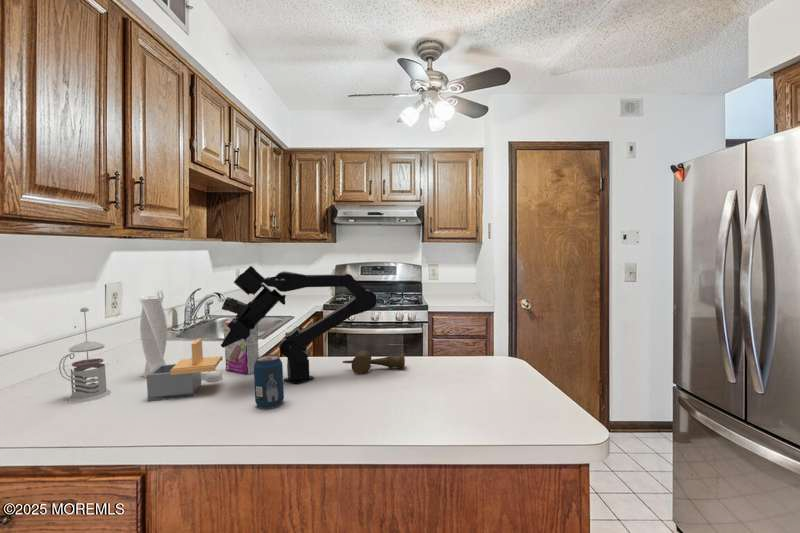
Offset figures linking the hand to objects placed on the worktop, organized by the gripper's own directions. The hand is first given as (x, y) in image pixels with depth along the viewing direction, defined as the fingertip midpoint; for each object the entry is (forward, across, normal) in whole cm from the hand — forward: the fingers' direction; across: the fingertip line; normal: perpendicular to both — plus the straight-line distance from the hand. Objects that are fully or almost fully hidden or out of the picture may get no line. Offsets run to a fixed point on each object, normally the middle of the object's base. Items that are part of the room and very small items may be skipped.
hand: (222, 346), depth 118 cm
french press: (+35, -6, -17) cm, 39 cm away
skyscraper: (+26, -21, -8) cm, 34 cm away
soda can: (-1, +18, +18) cm, 26 cm away
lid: (+8, 0, -1) cm, 8 cm away
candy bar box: (+6, -16, +11) cm, 21 cm away
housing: (+17, 0, 0) cm, 17 cm away
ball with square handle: (+12, -10, +5) cm, 17 cm away
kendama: (-23, -3, +40) cm, 46 cm away
